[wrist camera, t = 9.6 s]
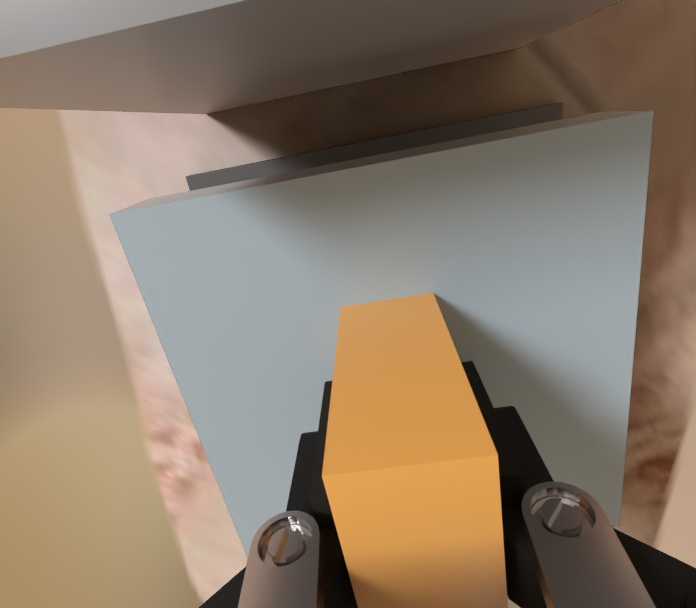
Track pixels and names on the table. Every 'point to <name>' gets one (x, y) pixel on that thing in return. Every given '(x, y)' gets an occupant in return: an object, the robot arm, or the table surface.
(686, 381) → the table surface
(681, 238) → the table surface
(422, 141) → the mat
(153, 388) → the table surface
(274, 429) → the lid
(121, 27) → the tub
